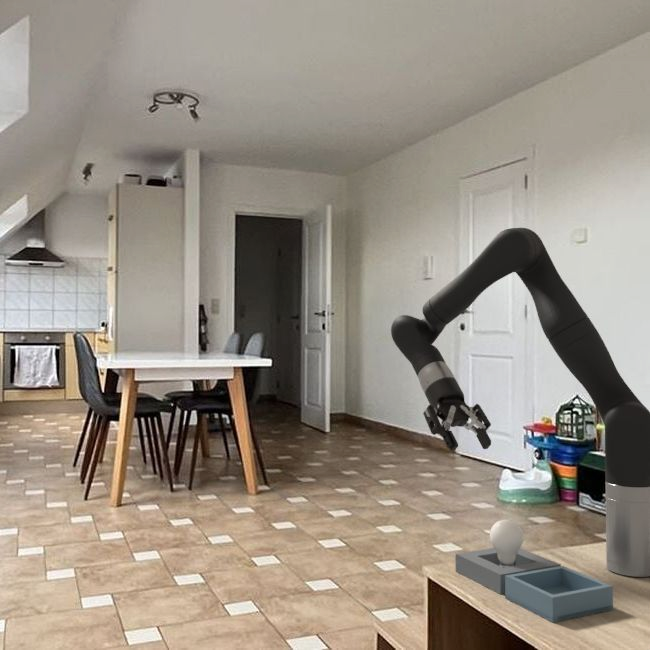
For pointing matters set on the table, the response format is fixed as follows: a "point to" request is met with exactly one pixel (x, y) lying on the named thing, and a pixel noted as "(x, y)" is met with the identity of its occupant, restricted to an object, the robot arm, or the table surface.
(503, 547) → the lightbulb
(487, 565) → the socket block
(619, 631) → the table surface
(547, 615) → the parts tray
